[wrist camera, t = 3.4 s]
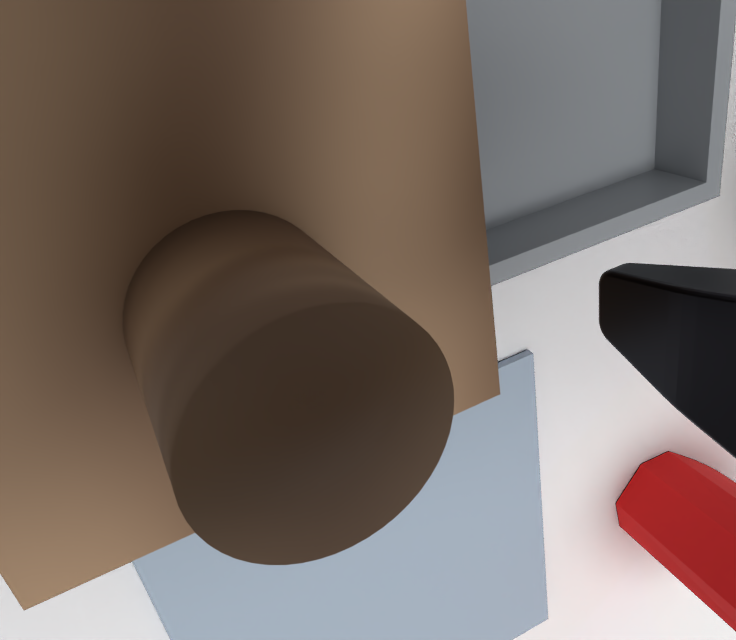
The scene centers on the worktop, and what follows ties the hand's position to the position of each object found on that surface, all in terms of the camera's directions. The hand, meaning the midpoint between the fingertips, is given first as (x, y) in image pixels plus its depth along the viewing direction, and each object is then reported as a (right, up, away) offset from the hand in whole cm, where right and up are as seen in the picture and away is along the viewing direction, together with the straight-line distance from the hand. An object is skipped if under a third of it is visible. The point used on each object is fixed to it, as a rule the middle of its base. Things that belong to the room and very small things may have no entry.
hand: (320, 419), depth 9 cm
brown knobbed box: (-4, +5, +7) cm, 10 cm away
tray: (+5, +8, +11) cm, 14 cm away
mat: (+1, -8, +16) cm, 18 cm away
